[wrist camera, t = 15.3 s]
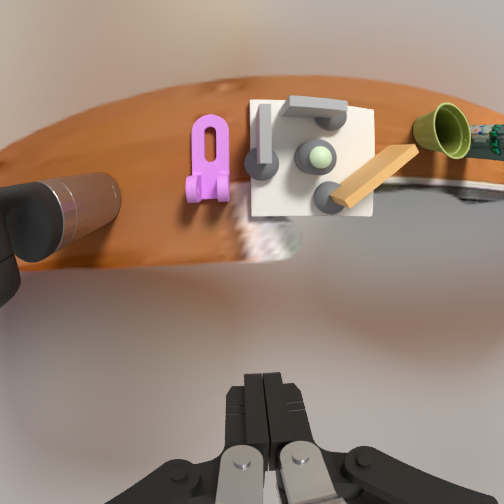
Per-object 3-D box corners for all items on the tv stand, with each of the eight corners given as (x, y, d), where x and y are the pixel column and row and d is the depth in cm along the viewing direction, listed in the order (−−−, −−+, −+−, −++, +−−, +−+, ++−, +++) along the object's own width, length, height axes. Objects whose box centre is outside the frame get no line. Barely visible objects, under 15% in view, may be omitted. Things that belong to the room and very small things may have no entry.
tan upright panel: (325, 219, 43) (342, 231, 35) (307, 194, 41) (321, 200, 34) (397, 161, 40) (424, 162, 32) (382, 136, 39) (408, 133, 31)
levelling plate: (244, 214, 44) (246, 228, 34) (243, 99, 38) (244, 81, 29) (368, 214, 44) (396, 227, 35) (369, 108, 39) (398, 98, 30)
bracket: (230, 197, 43) (228, 203, 36) (194, 198, 43) (186, 204, 36) (228, 115, 39) (226, 106, 32) (193, 117, 39) (184, 109, 32)
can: (456, 121, 39) (509, 118, 25) (471, 143, 40) (522, 146, 26) (445, 140, 40) (500, 140, 26) (460, 162, 42) (513, 169, 27)
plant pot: (422, 99, 38) (451, 92, 30) (448, 139, 40) (477, 139, 32) (396, 126, 40) (424, 121, 31) (424, 167, 42) (453, 170, 34)
